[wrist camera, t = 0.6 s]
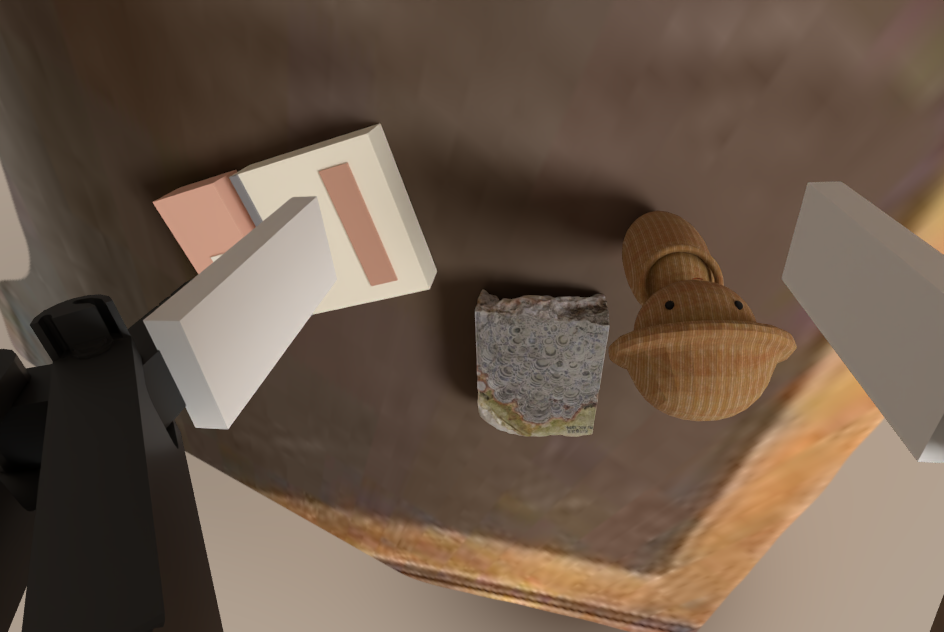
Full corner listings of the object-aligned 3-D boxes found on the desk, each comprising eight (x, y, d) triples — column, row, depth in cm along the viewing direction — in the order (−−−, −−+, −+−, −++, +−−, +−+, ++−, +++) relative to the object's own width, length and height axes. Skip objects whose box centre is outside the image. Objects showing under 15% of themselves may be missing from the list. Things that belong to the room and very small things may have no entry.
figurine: (718, 182, 39) (841, 335, 22) (703, 269, 42) (798, 455, 26) (593, 186, 40) (619, 333, 23) (590, 270, 44) (610, 447, 27)
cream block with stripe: (249, 164, 43) (227, 177, 40) (380, 123, 40) (366, 133, 37) (319, 297, 49) (304, 317, 46) (437, 271, 46) (429, 290, 43)
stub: (178, 187, 45) (150, 203, 42) (236, 169, 43) (211, 183, 40) (254, 313, 51) (235, 334, 48) (307, 301, 49) (290, 322, 46)
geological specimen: (612, 311, 40) (593, 455, 48) (603, 277, 46) (588, 411, 53) (474, 306, 41) (477, 447, 49) (481, 274, 47) (483, 406, 54)
